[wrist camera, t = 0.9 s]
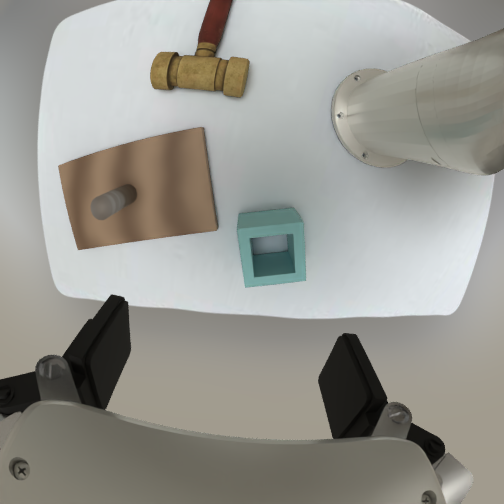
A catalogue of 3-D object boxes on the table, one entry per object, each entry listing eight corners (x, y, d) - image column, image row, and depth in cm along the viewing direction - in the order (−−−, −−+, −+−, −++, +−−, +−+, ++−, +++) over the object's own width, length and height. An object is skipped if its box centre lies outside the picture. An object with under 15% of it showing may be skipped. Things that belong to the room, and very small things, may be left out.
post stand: (203, 127, 29) (187, 122, 21) (217, 226, 33) (208, 254, 26) (64, 164, 29) (24, 174, 22) (83, 246, 34) (50, 272, 26)
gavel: (195, -49, 16) (276, -44, 17) (199, -31, 21) (273, -25, 21) (146, 83, 23) (241, 92, 24) (158, 92, 27) (241, 101, 28)
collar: (293, 207, 33) (303, 221, 27) (297, 258, 35) (305, 280, 30) (238, 213, 33) (236, 229, 27) (245, 264, 35) (245, 287, 30)
